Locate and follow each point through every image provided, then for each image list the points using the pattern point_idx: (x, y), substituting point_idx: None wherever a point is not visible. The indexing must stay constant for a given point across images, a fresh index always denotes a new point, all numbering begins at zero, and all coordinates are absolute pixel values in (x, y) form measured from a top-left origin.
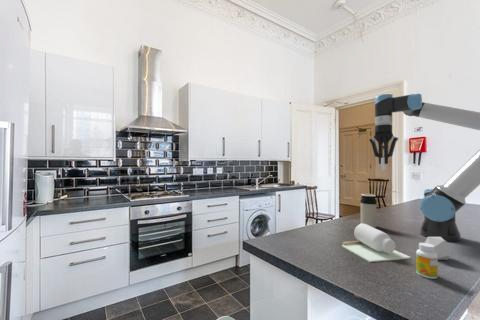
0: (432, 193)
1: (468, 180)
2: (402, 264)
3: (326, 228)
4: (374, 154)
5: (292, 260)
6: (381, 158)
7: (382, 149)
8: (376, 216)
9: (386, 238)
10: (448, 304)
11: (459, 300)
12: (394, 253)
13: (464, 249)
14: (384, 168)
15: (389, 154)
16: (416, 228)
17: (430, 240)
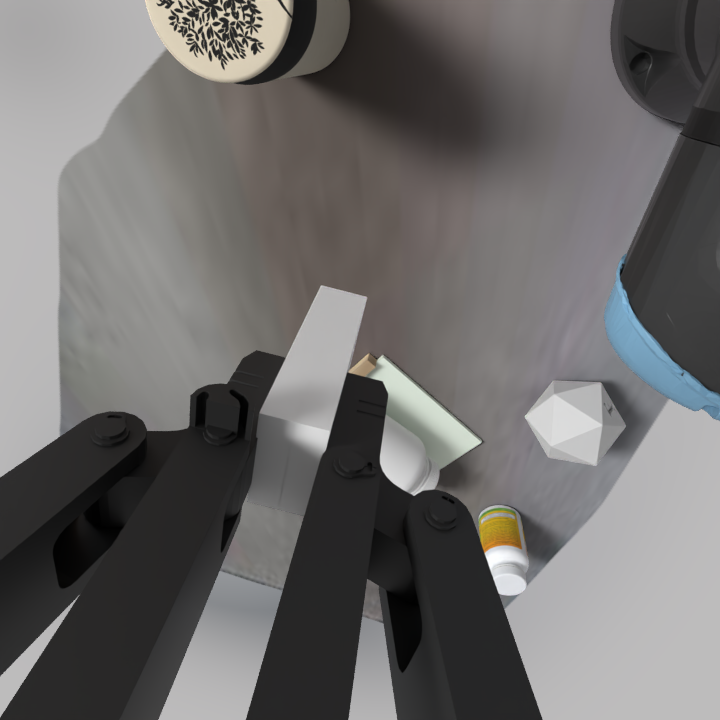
0: None
1: None
2: (452, 487)
3: (141, 246)
4: (68, 527)
5: (227, 562)
6: (261, 491)
7: (159, 642)
8: (337, 7)
9: (412, 493)
10: (506, 597)
11: (529, 582)
12: (437, 436)
13: None
14: (348, 371)
15: (404, 605)
16: None
17: (554, 451)
